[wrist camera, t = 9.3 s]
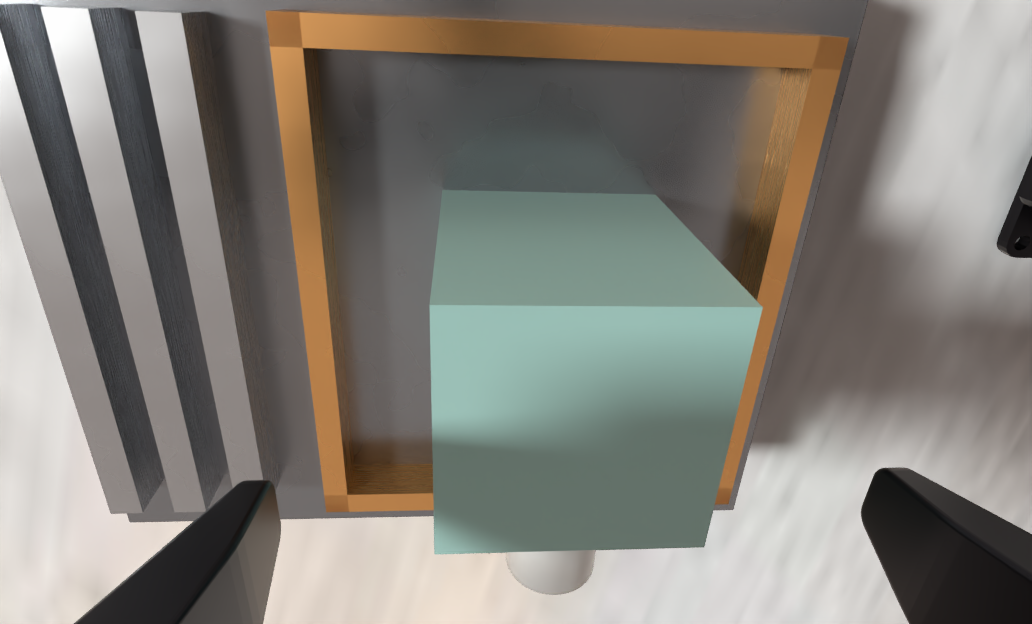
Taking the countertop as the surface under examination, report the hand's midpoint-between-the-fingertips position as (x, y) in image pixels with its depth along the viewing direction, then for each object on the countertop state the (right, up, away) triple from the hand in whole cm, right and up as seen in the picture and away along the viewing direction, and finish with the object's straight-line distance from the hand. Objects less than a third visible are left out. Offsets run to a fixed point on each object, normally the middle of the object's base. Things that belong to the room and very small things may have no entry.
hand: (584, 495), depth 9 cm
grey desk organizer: (-3, +5, +10) cm, 11 cm away
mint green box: (0, +2, +7) cm, 7 cm away
